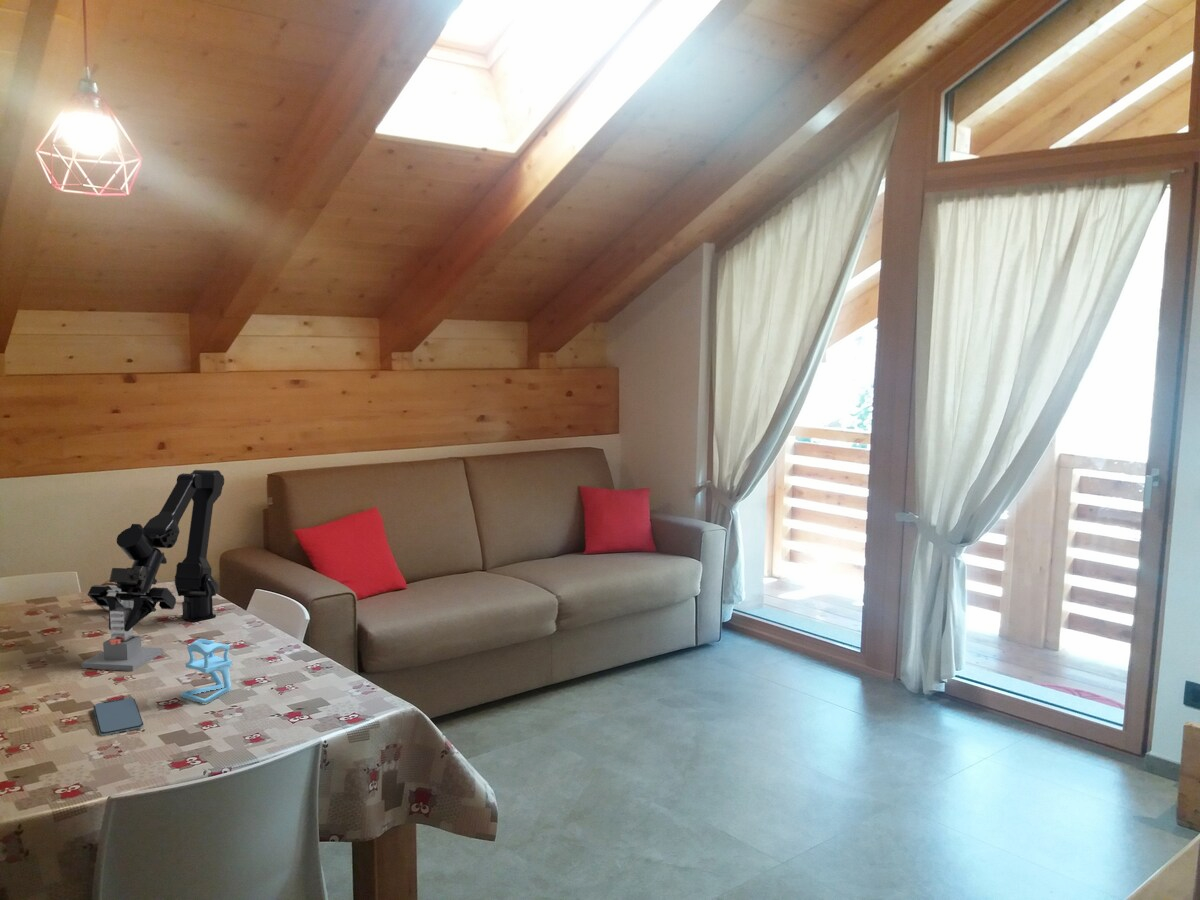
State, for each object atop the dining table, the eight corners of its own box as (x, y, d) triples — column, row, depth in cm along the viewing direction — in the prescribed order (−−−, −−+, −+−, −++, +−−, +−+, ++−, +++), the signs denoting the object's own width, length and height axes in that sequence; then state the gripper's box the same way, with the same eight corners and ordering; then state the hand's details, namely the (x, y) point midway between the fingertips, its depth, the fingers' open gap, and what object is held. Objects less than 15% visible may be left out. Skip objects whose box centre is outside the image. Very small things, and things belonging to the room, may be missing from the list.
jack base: (114, 650, 221) (113, 626, 220) (162, 652, 220) (161, 628, 219) (81, 668, 209) (80, 643, 208) (132, 670, 208) (131, 645, 207)
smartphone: (99, 733, 174) (92, 703, 186) (100, 741, 174) (92, 711, 187) (144, 724, 178) (134, 695, 190) (145, 732, 178) (134, 703, 191)
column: (120, 651, 216) (118, 606, 215) (134, 651, 216) (132, 607, 215) (110, 656, 212) (108, 611, 211) (124, 657, 212) (122, 612, 211)
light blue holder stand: (239, 692, 197) (237, 637, 195) (204, 705, 190) (203, 647, 188) (215, 685, 201) (213, 630, 199) (180, 697, 194) (178, 640, 192)
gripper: (90, 551, 216) (61, 611, 207) (167, 554, 215) (141, 614, 205) (112, 575, 225) (85, 634, 215) (186, 578, 223) (163, 638, 214)
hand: (118, 630), depth 212 cm, fingers open, 3 cm apart
